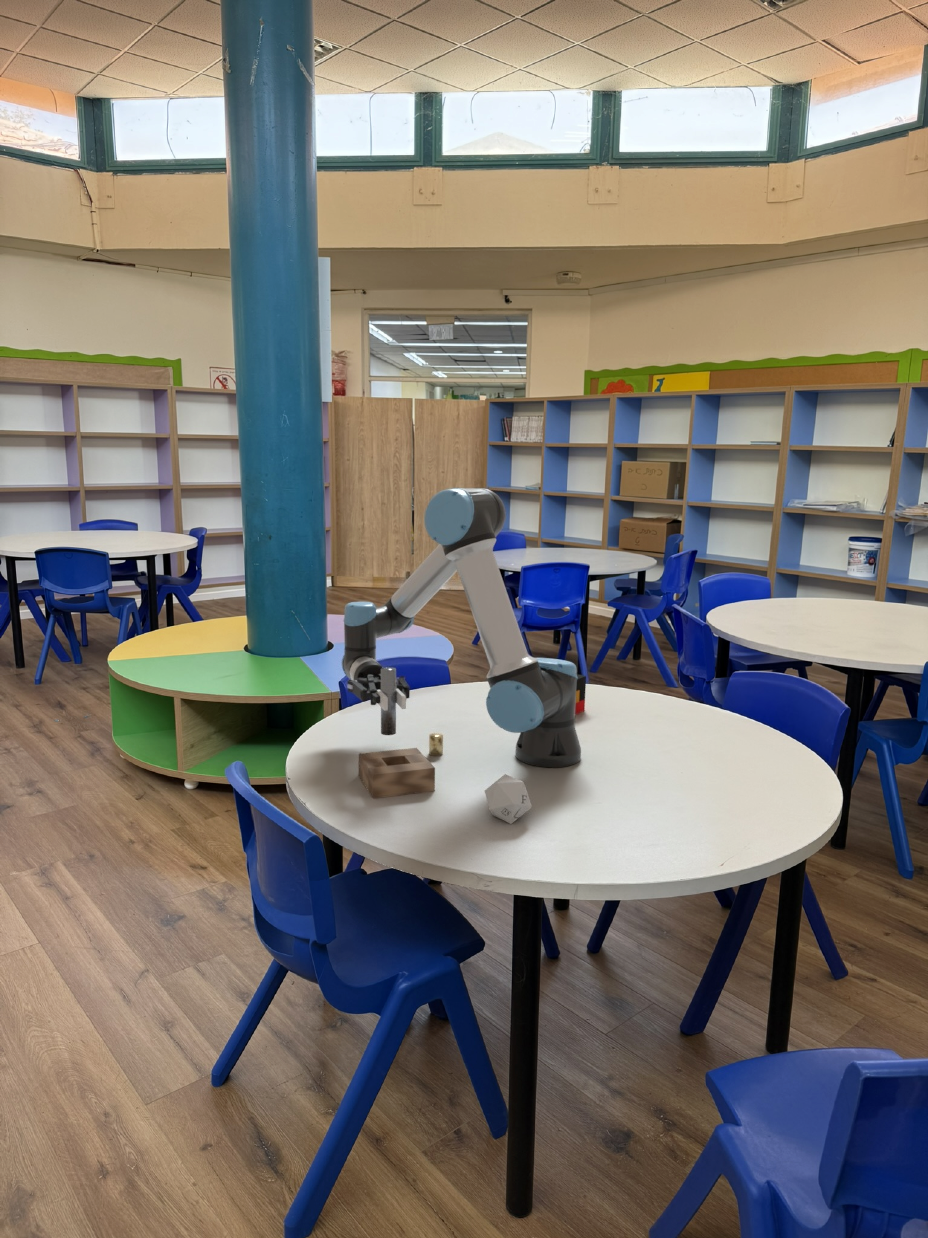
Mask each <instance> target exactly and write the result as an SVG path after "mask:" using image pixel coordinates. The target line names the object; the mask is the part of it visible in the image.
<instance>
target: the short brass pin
mask: <svg viewBox="0 0 928 1238" xmlns="http://www.w3.org/2000/svg"><path fill="white" fill-rule="evenodd" d="M428 737H429V738H428V755H430V756H432V757H440V756H442V755H444V752H443V751H444V734H442V733H438V732H436V733H435V732H433V733H429V735H428Z"/></svg>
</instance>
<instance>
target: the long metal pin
mask: <svg viewBox="0 0 928 1238" xmlns="http://www.w3.org/2000/svg"><path fill="white" fill-rule="evenodd" d="M383 667H384V668H381V691H382V692H383V693H384V694H385V695H386V696H387V697H388V710H386V711H384V710H383V709H382V708H381V707H380V734H381V735H384V736H393V735H396V734H397V703H396V680H397V668H396V667H393V666H392V667H391V666H383Z"/></svg>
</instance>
